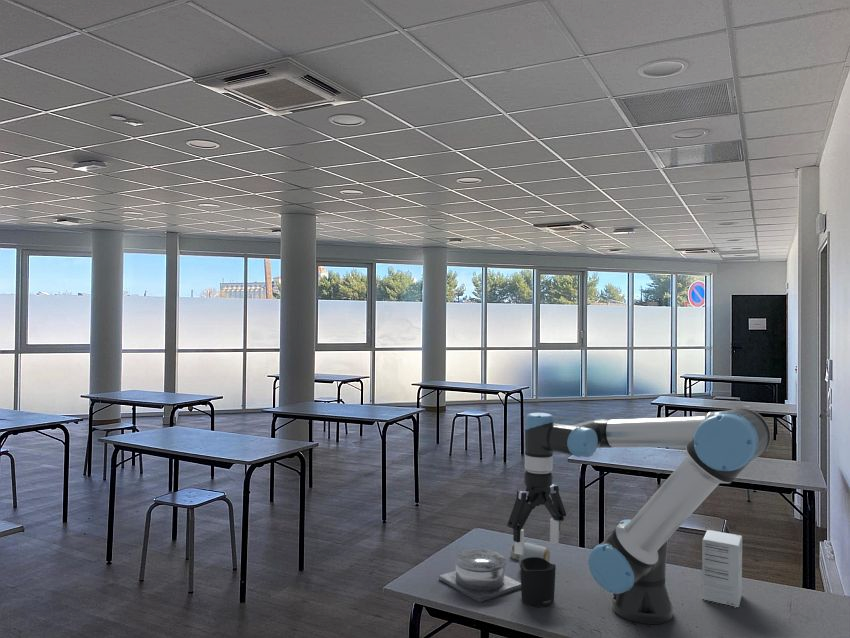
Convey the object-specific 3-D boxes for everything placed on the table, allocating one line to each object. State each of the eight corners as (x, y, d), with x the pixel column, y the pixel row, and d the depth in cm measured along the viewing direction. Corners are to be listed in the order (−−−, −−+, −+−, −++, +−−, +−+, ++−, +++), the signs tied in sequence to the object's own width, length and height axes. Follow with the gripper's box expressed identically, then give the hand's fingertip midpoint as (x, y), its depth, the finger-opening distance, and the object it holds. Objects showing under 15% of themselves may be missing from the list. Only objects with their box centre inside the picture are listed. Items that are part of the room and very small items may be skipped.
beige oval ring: (535, 553, 204) (535, 538, 204) (541, 561, 198) (541, 545, 198) (508, 554, 203) (508, 538, 203) (512, 561, 197) (512, 546, 197)
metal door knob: (522, 588, 177) (522, 562, 177) (479, 602, 168) (479, 575, 168) (480, 567, 192) (480, 543, 192) (439, 579, 182) (439, 555, 182)
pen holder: (519, 606, 166) (520, 569, 166) (520, 591, 175) (520, 555, 175) (555, 609, 164) (556, 571, 164) (554, 594, 173) (555, 558, 173)
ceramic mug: (545, 576, 185) (545, 550, 185) (518, 571, 189) (518, 546, 189) (552, 564, 195) (552, 539, 195) (526, 560, 198) (527, 535, 198)
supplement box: (706, 587, 178) (706, 528, 178) (742, 595, 173) (742, 534, 173) (701, 600, 170) (701, 538, 170) (738, 608, 165) (739, 545, 165)
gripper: (559, 461, 180) (558, 535, 180) (494, 473, 165) (493, 553, 165) (579, 467, 174) (578, 543, 174) (514, 479, 159) (513, 562, 159)
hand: (537, 548), depth 170 cm, fingers open, 13 cm apart
